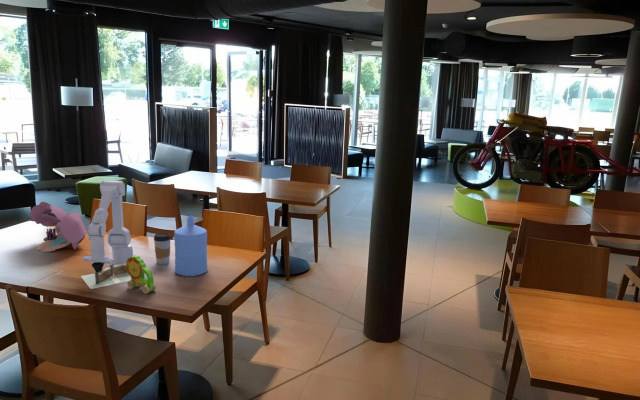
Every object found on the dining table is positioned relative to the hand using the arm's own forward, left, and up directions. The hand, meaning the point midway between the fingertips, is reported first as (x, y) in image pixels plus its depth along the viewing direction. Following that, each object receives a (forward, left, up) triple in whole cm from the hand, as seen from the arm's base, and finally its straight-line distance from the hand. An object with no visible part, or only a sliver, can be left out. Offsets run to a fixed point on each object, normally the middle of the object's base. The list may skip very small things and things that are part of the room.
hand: (99, 277), depth 225 cm
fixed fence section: (-11, -3, -2) cm, 12 cm away
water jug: (-40, +11, -2) cm, 42 cm away
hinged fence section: (-2, +1, -1) cm, 2 cm away
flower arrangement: (+5, -62, -2) cm, 62 cm away
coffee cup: (-33, -8, -2) cm, 34 cm away
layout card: (-6, -1, -2) cm, 7 cm away
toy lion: (-12, +19, -2) cm, 23 cm away
